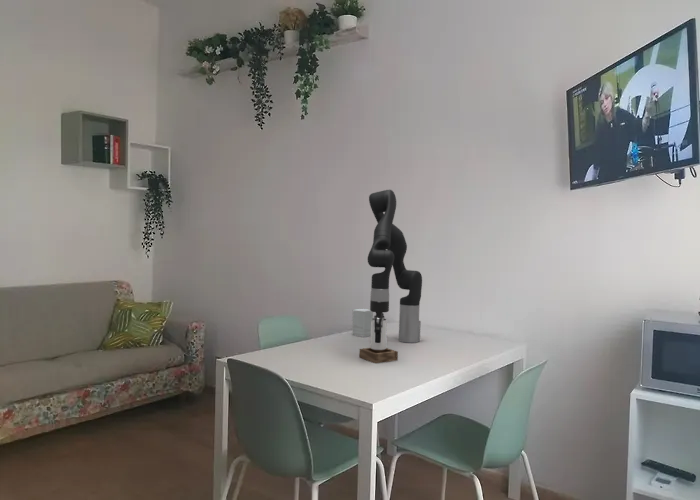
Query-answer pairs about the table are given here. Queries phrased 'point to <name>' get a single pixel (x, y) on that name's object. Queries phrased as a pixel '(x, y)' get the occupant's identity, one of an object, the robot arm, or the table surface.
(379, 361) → the tray
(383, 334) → the can
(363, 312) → the supplement box
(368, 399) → the table surface
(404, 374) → the table surface
